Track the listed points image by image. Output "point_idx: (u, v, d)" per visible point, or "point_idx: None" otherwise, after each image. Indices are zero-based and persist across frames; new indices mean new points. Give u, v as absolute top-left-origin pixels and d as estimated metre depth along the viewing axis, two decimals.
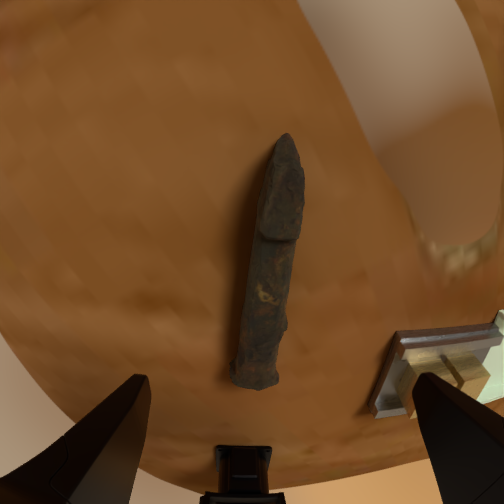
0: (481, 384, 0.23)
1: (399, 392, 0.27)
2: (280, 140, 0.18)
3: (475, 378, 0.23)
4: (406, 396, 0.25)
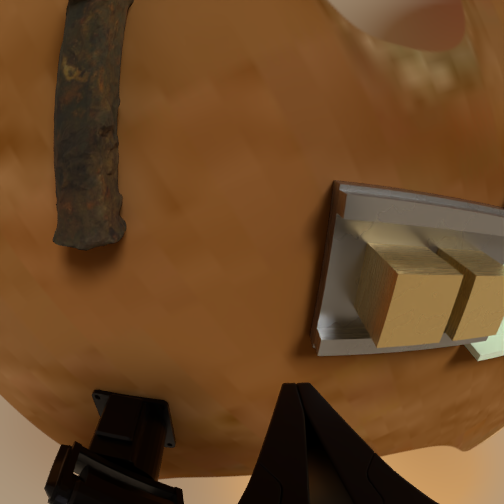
0: None
1: (358, 304, 0.17)
2: None
3: (493, 274, 0.13)
4: (368, 307, 0.16)
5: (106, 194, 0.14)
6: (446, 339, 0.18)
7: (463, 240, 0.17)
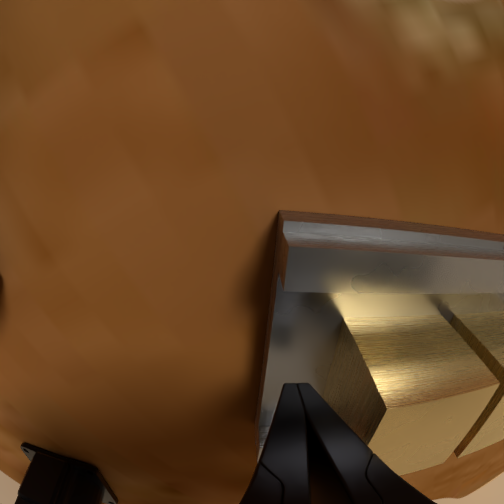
0: None
1: None
2: None
3: None
4: None
5: None
6: None
7: (491, 299, 0.10)
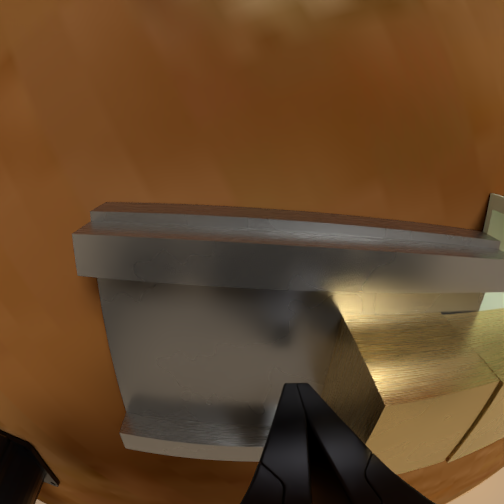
0: None
1: None
2: None
3: None
4: None
5: None
6: None
7: (378, 300, 0.10)
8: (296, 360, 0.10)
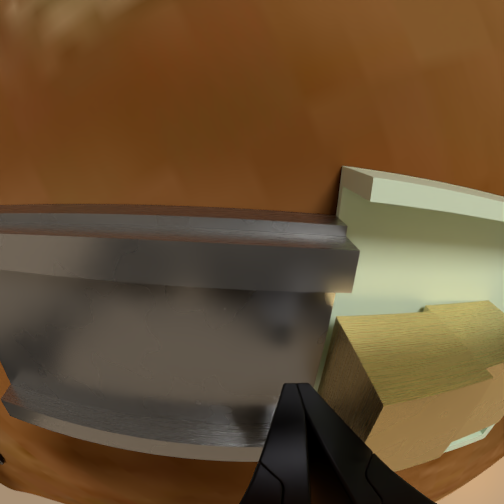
0: None
1: None
2: None
3: None
4: None
5: None
6: (189, 451, 0.11)
7: (170, 293, 0.09)
8: (109, 348, 0.10)
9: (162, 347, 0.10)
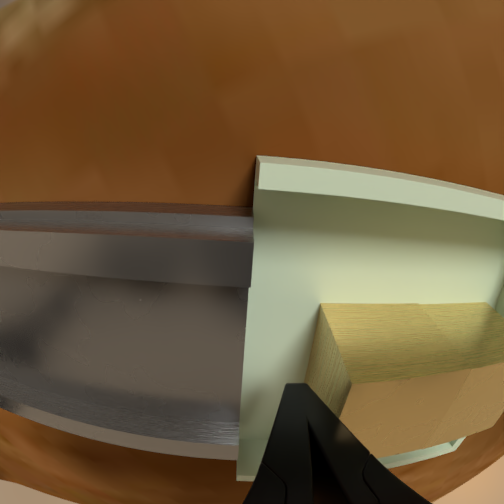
0: None
1: None
2: None
3: (500, 359, 0.07)
4: None
5: None
6: (126, 440, 0.11)
7: (92, 283, 0.09)
8: (50, 334, 0.10)
9: (92, 335, 0.10)
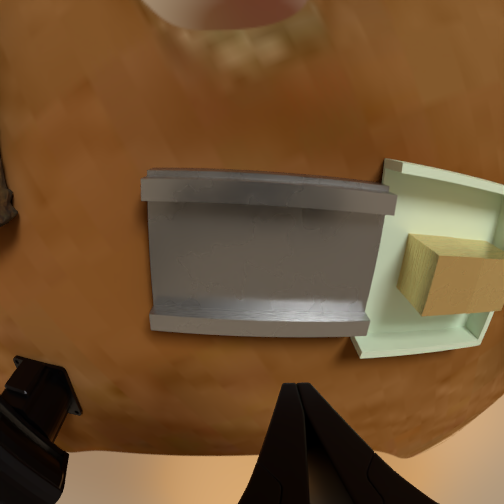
0: None
1: (401, 284, 0.20)
2: None
3: (497, 258, 0.16)
4: (411, 285, 0.19)
5: None
6: (300, 329, 0.19)
7: (304, 218, 0.18)
8: (259, 256, 0.19)
9: (294, 253, 0.19)
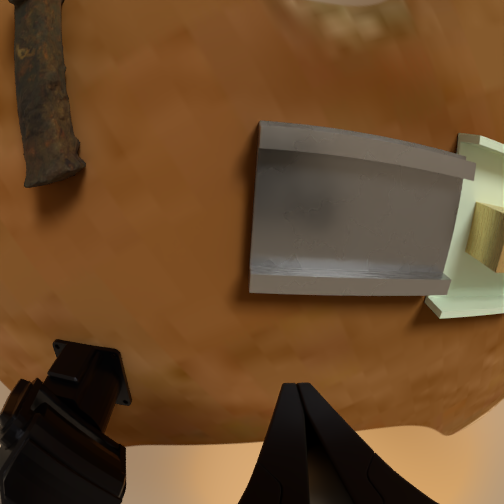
0: None
1: (470, 248, 0.20)
2: None
3: None
4: (482, 246, 0.18)
5: (61, 134, 0.15)
6: (396, 287, 0.19)
7: (403, 179, 0.17)
8: (363, 214, 0.18)
9: (392, 212, 0.18)
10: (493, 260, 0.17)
